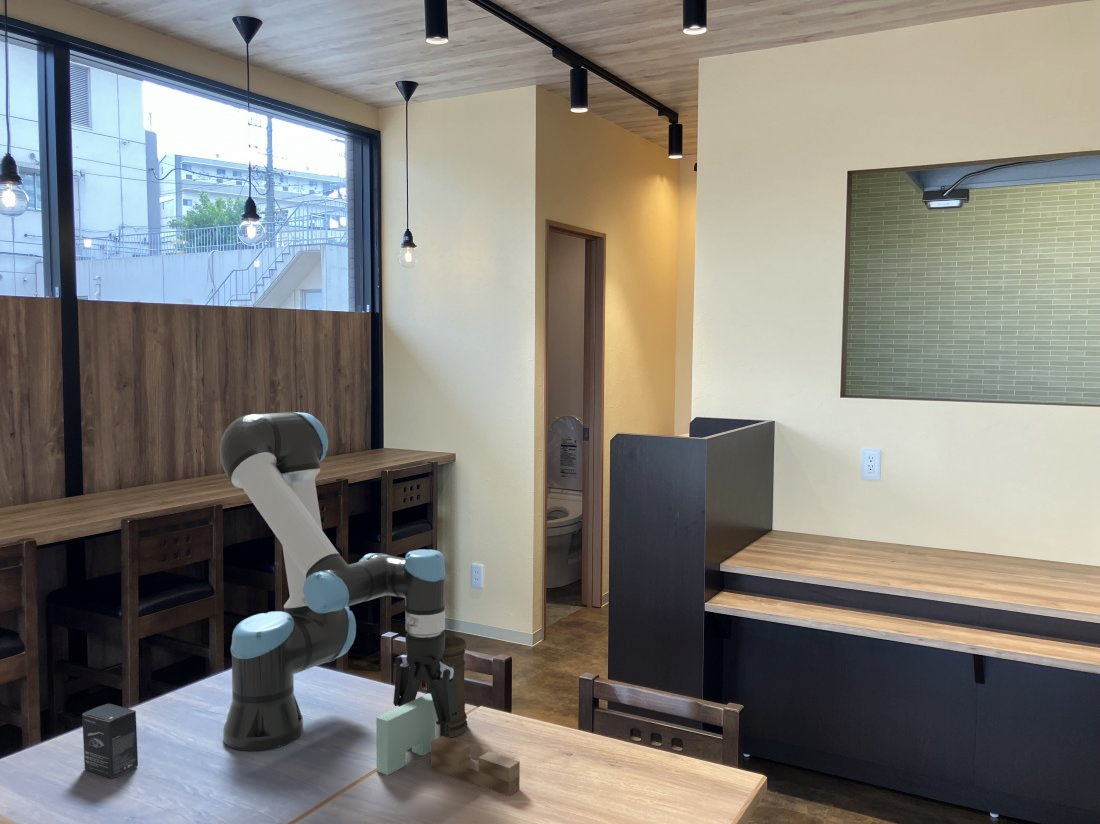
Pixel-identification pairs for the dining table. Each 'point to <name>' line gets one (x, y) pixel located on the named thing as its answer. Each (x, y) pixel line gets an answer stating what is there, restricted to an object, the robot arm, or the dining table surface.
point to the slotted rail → (475, 766)
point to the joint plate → (405, 733)
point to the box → (110, 740)
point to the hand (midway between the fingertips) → (425, 748)
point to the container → (456, 680)
